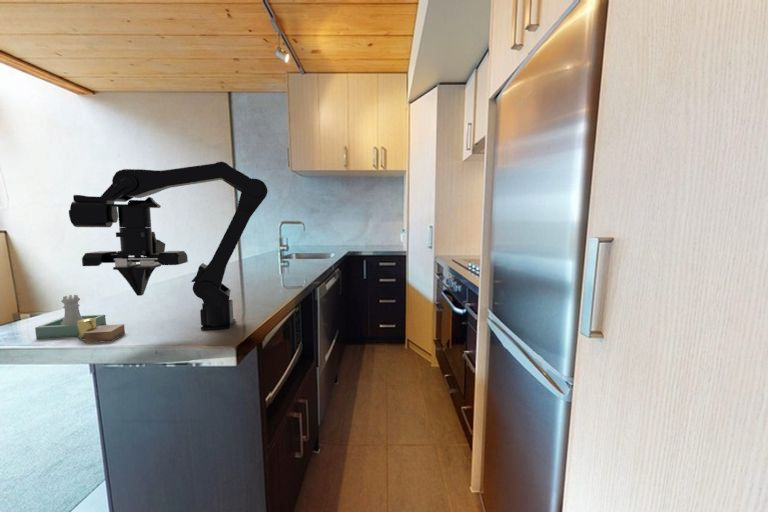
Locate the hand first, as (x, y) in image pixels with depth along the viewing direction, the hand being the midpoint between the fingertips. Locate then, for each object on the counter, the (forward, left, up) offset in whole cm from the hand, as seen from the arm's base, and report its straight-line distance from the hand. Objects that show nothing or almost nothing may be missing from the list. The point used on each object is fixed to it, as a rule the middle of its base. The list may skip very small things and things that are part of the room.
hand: (140, 295), depth 72 cm
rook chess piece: (+18, -6, -9) cm, 21 cm away
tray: (+18, -6, -9) cm, 21 cm away
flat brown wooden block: (+7, +1, -10) cm, 12 cm away
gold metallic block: (+11, 0, -9) cm, 15 cm away
